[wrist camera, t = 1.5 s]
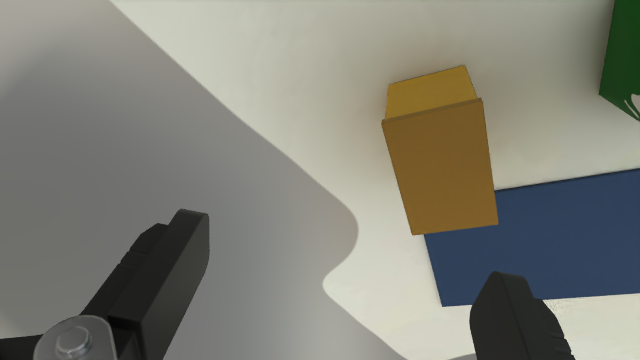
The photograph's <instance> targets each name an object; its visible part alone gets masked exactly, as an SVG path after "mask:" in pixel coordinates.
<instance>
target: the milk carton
mask: <svg viewBox="0 0 640 360" xmlns="http://www.w3.org/2000/svg"><path fill="white" fill-rule="evenodd" d="M599 95H600V96H602V97H603V98H605V99H606V100H608V101H609V102H611V103H612V104H614V105H615V106H617V107H618V108H620V109H621V110H623V111H624V112H626V113H627V114H629V115H630V116H632V117H633V118H635V119H636V120H638V121H639V122H640V0H615V4H614V10H613V16H612V22H611V27H610V33H609V39H608V45H607V50H606V56H605V62H604V68H603V74H602V79H601V85H600V91H599Z"/></svg>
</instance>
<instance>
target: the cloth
mask: <svg viewBox="0 0 640 360" xmlns="http://www.w3.org/2000/svg"><path fill="white" fill-rule="evenodd" d="M494 192H495V200H496V208H497V215H498V223H499V224H498V225H490V226H483V227H475V228H467V229H459V230H451V231H444V232H436V233H428V234H424V238H425V241H426V245H427V249H428V253H429V257H430V261H431V265H432V269H433V272H434V276H435V280H436V284H437V288H438V292H439V296H440V300H441V304H442V307H446V306H461V305H473V303H474V302H475V300H476V298H477V296H478V294H479V293H480V291H481V289H482V287H483V286H484V284H485V282H486V280H487V279H488V277H489V275H490V274H491V273H492V272H493V271H499V272H504V273H509V274H514V275H520V276H523V277H524V278H525V279H526V280H527V282H528V284H529V287H530V289H531V292H532V294H533V296H534V298H537V299H541V300H548V299H562V298H577V297H591V296H606V295H620V294H635V293H640V169H634V170H627V171H621V172H614V173H608V174H601V175H595V176H588V177H582V178H575V179H569V180H562V181H556V182H549V183H543V184H536V185H530V186H523V187H517V188H510V189H504V190H497V191H494Z"/></svg>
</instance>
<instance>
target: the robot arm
mask: <svg viewBox="0 0 640 360" xmlns="http://www.w3.org/2000/svg"><path fill="white" fill-rule="evenodd" d="M209 251H210V250H209V216H208V214H206V213H201V212H196V211H191V210H186V209H180V210H179V211H178V212H177V213H176V214H175V216H174V217H173V219H172V220H171V222H170V223H169V225H165V224H159V223H157V224H155V225H154V226H152V227H151V228H149V229H148V230H146V231H145V232H143V233H142V234H140V236H139V237H138V238H137V240H136V241H135V242H134V244H133V245H132V246H131V248H130V251H129V252H127V253H126V254H125V256H124V257H123V258H122V260H121V263H120V264H118V265H117V266H116V268H115V269H114V270H113V272H112V273H111V274H110V276H109V277H108V278H107V280H106V281H105V282H104V284H103V285H102V286H101V288H100V289H99V290H98V292H97V293H96V294H95V296H94V297H93V298H92V300H91V301H90V302H89V304H88V305H87V306H86V307H85V309H84V310H83V311H82V312H81V314H79V315H78V316H75V317H71V318H68V319H66V320H63V321H62V322H59V323H58V324H56V325H55V326H53V327H52V328H50V329H49V330H48V331H47V332H46V333H45V334H41V335H35V336H26V337H16V338H5V339H0V360H163V358H164V355H165V354H166V351H167V349H168V347H169V345H170V343H171V341H172V339H173V337H174V335H175V333H176V331H177V329H178V327H179V325H180V323H181V321H182V319H183V317H184V315H185V313H186V310H187V308H188V306H189V304H190V302H191V300H192V298H193V296H194V294H195V292H196V290H197V288H198V286H199V284H200V282H201V280H202V277H203V276H204V273H205V271H206V268H207V265H208V260H209ZM469 322H470V330H471V334H472V339H473V343H474V347H475V352H476V356H477V360H575V358H574V356H573V355H571V349H570V347H569V344H568V342H567V340H566V339H564V333H563V331H562V329H561V327H560V324H559V322H558V320H557V318H556V316H555V315H554V314H553V313H552V311H551V310H550V309H549V308H548V307H547V306H546V304H545V303H544V302H543V301H542V300H541V299H537V298H534V296H533V294H532V292H531V289H530V287H529V284H528V282H527V280H526V279H525V278H524V277H523V276H520V275H514V274H509V273H504V272H499V271H493V272H492V273H491V274H490V275H489V277H488V279H487V280H486V282H485V284H484V286H483V287H482V289H481V291H480V293H479V294H478V296H477V298H476V300H475V302H474V303H473V305H472V308H471V311H470V320H469Z"/></svg>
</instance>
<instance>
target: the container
mask: <svg viewBox="0 0 640 360" xmlns="http://www.w3.org/2000/svg"><path fill="white" fill-rule="evenodd" d="M381 125H382V128H383V132H384V135H385V139H386V143H387V146H388V150H389V154H390V157H391V161H392V164H393V168H394V172H395V175H396V179H397V182H398V186H399V190H400V193H401V197H402V200H403V204H404V208H405V211H406V215H407V219H408V222H409V226H410V229H411V233H412V235H420V234H428V233H436V232H444V231H451V230H459V229H467V228H475V227H483V226H490V225H498V224H499V223H498V215H497V208H496V200H495V192H494V185H493V177H492V170H491V162H490V154H489V147H488V139H487V132H486V124H485V117H484V109H483V102H482V99H481V98H477V96H476V93H475V90H474V88H473V85H472V82H471V80H470V77H469V75H468V72H467V69H466V67H465V66H460V67H456V68H452V69H448V70H444V71H440V72H436V73H432V74H429V75H425V76H421V77H417V78H413V79H409V80H405V81H401V82H397V83H393V84H389V86H388V96H387V106H386V116H385V119H384V120H382V123H381Z"/></svg>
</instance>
